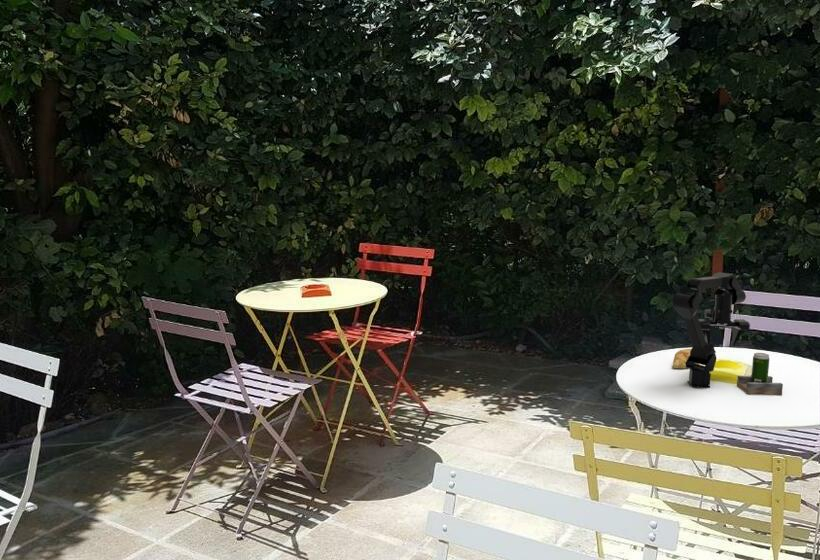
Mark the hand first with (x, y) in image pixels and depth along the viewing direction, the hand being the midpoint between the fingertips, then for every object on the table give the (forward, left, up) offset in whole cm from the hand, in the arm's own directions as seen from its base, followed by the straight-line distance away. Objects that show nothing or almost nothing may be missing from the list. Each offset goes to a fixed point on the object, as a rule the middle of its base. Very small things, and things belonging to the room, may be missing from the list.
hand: (720, 346), depth 276 cm
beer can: (+10, -13, -12) cm, 20 cm away
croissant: (-6, +20, -14) cm, 25 cm away
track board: (+10, -13, -13) cm, 21 cm away
